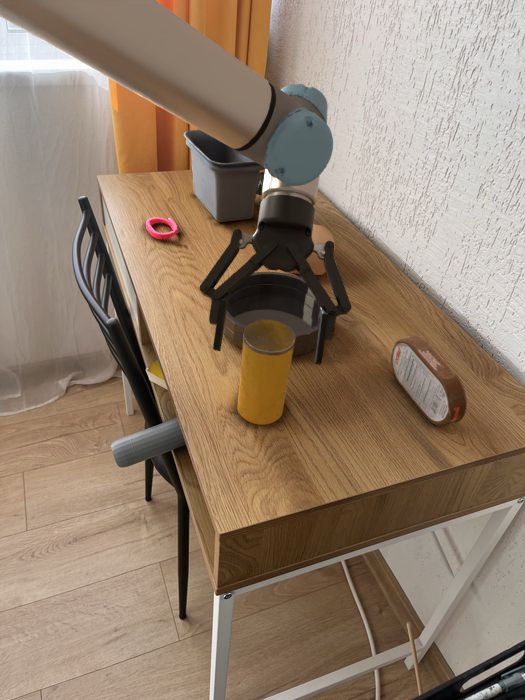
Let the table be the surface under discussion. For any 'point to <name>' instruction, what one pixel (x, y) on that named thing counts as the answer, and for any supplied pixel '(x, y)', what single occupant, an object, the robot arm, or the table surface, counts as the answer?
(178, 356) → the table surface
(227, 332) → the pan
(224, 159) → the storage bin
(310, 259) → the squash
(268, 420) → the corn can
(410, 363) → the tin
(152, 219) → the fitness band
